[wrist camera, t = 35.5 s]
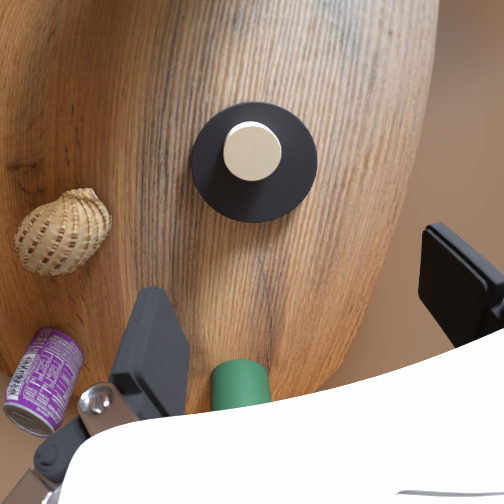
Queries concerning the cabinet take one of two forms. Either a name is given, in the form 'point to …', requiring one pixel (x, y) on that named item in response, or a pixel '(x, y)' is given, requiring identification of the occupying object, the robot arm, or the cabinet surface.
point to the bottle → (238, 385)
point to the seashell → (62, 233)
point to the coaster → (260, 191)
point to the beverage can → (43, 383)
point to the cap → (251, 151)
